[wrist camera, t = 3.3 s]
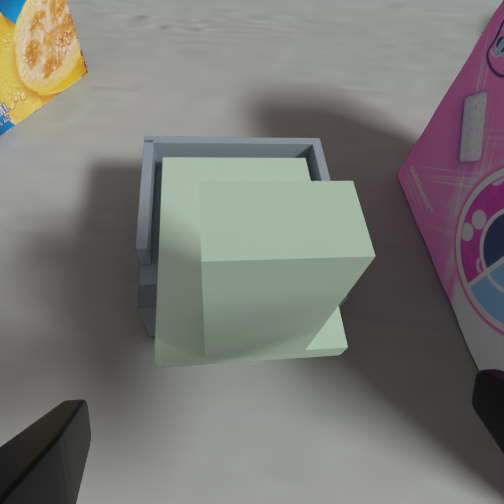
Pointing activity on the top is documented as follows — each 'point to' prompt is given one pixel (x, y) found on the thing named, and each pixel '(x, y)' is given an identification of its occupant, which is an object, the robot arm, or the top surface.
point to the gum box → (467, 195)
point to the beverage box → (35, 56)
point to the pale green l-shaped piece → (254, 261)
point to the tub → (200, 147)
